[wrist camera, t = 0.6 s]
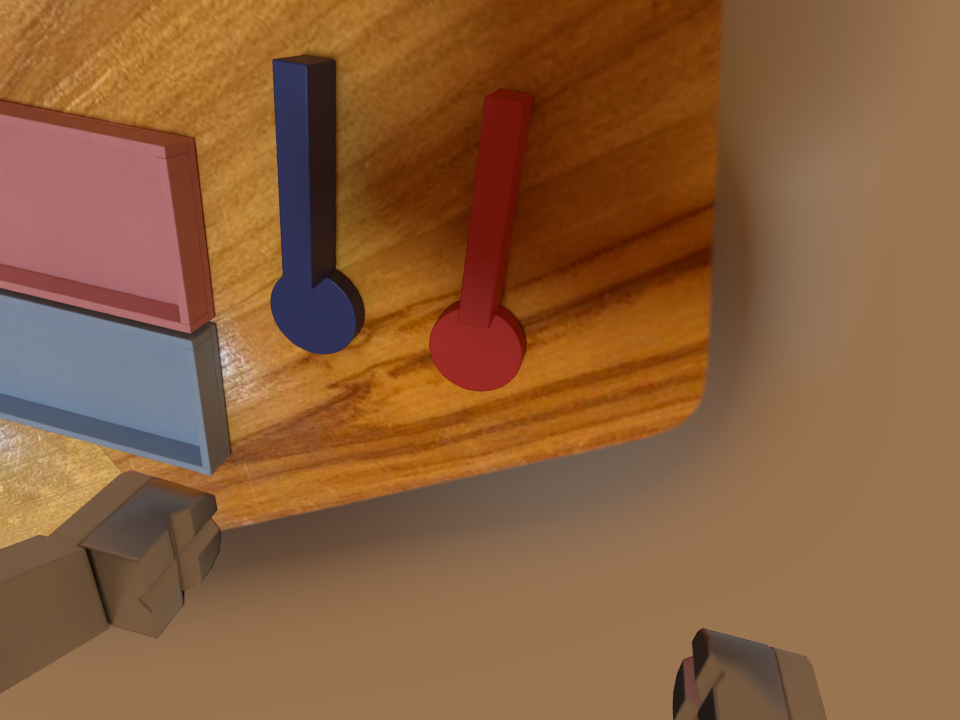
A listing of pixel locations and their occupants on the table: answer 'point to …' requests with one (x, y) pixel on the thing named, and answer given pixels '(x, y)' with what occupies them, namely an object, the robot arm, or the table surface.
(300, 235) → the blue spoon
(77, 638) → the robot arm
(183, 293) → the pink tray
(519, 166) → the red spoon
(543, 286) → the table surface
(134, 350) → the blue tray
